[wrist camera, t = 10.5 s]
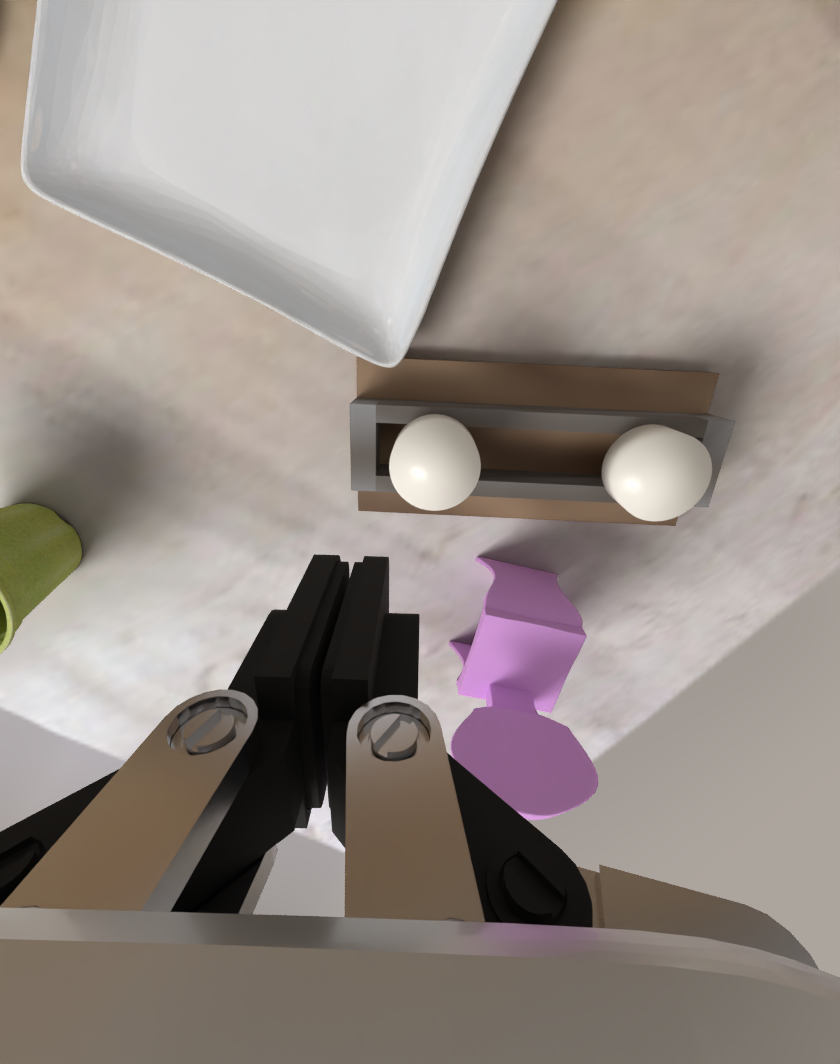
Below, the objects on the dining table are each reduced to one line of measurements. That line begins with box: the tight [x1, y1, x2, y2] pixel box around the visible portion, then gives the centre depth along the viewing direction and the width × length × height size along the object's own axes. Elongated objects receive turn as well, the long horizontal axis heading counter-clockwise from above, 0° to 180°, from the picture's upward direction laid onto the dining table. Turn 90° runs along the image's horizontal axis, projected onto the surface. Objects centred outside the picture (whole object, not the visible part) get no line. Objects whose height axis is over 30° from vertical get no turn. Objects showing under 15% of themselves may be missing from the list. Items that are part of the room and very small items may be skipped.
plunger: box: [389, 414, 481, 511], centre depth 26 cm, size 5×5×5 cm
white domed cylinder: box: [602, 424, 712, 521], centre depth 26 cm, size 5×5×5 cm
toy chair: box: [449, 556, 598, 820], centre depth 29 cm, size 8×9×15 cm
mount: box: [350, 357, 735, 526], centre depth 29 cm, size 10×22×4 cm, turn 88°
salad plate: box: [21, 0, 558, 368], centre depth 22 cm, size 21×21×3 cm
